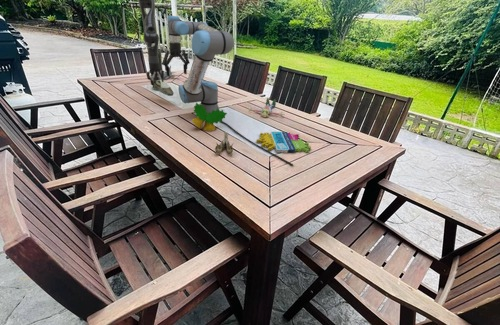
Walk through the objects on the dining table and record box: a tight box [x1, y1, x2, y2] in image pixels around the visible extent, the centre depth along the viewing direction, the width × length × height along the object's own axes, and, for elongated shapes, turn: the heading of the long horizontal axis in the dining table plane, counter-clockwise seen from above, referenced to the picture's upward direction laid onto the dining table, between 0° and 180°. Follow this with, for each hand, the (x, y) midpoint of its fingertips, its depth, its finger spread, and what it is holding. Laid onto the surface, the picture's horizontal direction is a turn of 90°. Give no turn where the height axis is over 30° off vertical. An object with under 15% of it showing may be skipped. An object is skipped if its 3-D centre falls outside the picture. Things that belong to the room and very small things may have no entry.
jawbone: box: [214, 131, 234, 156], centre depth 136 cm, size 9×15×10 cm
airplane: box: [163, 65, 181, 80], centre depth 275 cm, size 38×31×10 cm
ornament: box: [191, 102, 228, 132], centre depth 162 cm, size 21×8×15 cm, turn 105°
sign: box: [256, 131, 312, 154], centre depth 152 cm, size 26×2×30 cm
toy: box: [247, 97, 285, 118], centre depth 199 cm, size 28×7×30 cm
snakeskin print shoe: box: [152, 80, 175, 97], centre depth 198 cm, size 8×25×9 cm, turn 46°
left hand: (156, 84), depth 204 cm, fingers closed on snakeskin print shoe, 5 cm apart
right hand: (176, 74), depth 185 cm, fingers open, 13 cm apart
